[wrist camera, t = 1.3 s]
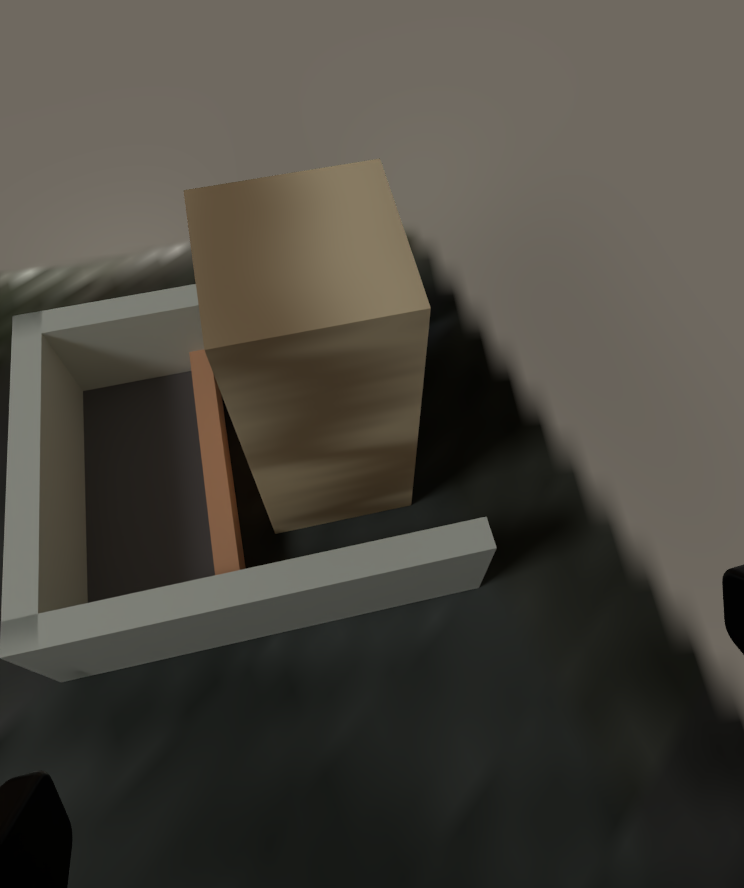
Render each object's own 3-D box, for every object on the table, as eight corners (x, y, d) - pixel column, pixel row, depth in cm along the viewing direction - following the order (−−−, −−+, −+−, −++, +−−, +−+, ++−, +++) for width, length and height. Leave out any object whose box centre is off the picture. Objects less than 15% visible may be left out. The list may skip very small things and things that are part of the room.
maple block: (380, 392, 27) (379, 158, 17) (411, 504, 25) (430, 308, 15) (255, 416, 26) (183, 190, 17) (275, 534, 24) (204, 349, 14)
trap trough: (396, 317, 29) (398, 248, 25) (478, 587, 23) (496, 547, 20) (60, 379, 27) (12, 316, 24) (61, 682, 22) (-1, 658, 18)
